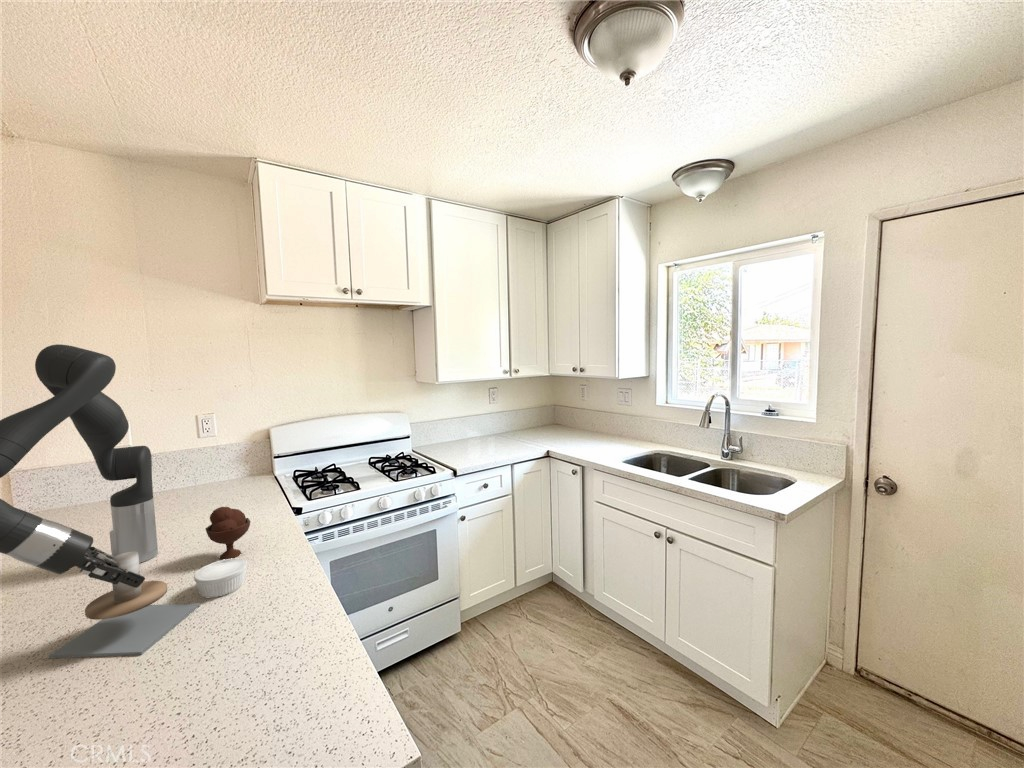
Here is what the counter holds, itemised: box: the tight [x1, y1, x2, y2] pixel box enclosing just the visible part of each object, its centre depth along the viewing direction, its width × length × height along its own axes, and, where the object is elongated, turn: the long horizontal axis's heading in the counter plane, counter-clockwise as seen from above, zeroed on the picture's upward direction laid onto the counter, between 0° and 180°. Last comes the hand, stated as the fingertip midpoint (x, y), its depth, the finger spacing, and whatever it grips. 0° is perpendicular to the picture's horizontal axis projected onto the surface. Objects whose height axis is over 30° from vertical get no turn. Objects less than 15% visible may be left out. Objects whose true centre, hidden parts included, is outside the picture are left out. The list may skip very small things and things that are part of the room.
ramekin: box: [193, 557, 249, 599], centre depth 105 cm, size 11×11×5 cm
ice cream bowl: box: [204, 506, 251, 560], centre depth 122 cm, size 11×11×15 cm
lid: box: [84, 552, 168, 621], centre depth 89 cm, size 13×13×10 cm
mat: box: [47, 602, 201, 659], centre depth 90 cm, size 18×16×1 cm
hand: (138, 578), depth 91 cm, fingers closed on lid, 4 cm apart
